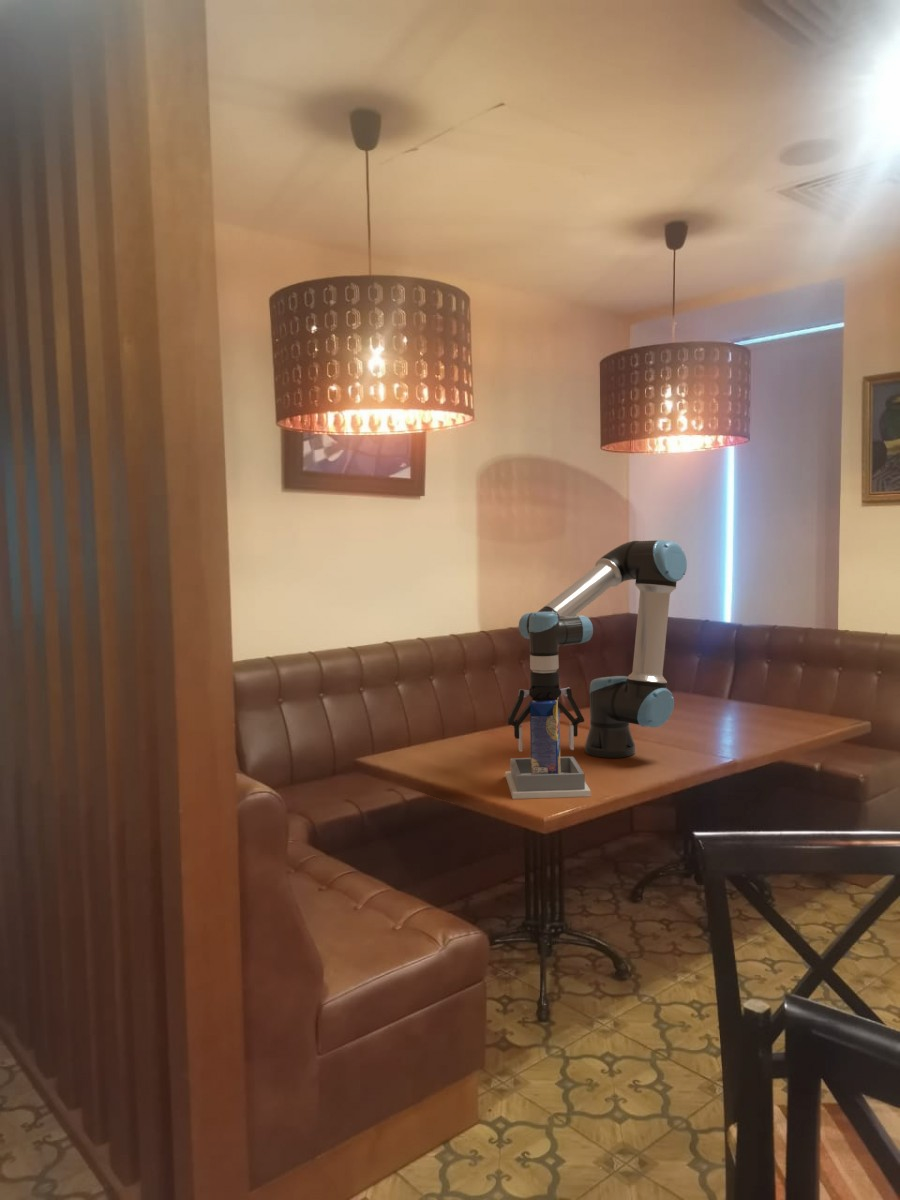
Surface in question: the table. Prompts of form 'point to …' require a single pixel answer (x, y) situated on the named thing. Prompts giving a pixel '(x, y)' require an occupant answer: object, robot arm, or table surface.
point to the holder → (546, 780)
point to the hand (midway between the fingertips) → (546, 749)
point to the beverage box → (545, 737)
